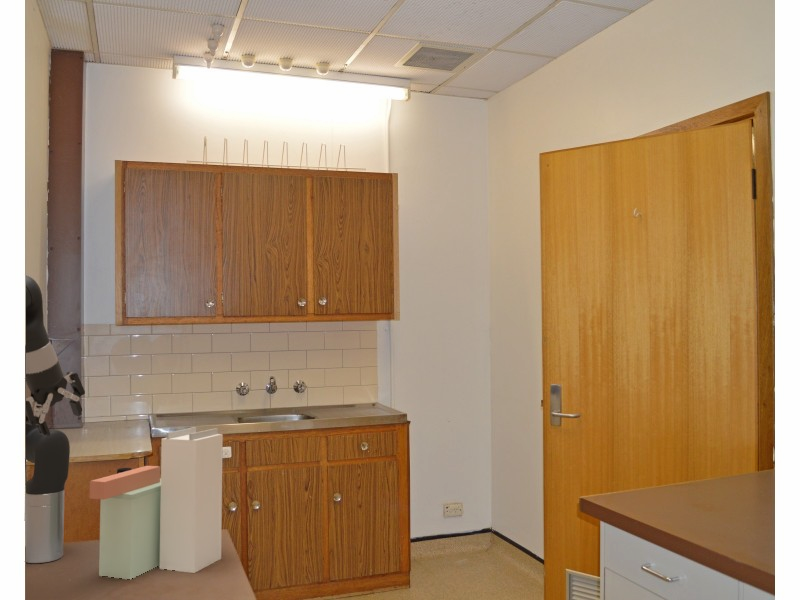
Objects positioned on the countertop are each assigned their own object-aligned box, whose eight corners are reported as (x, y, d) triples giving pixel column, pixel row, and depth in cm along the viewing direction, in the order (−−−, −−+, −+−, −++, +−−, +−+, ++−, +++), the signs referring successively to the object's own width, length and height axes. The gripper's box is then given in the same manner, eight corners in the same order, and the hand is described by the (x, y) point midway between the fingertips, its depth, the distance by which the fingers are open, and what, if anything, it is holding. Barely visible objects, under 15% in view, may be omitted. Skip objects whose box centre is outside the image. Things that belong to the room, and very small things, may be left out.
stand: (159, 569, 180) (161, 432, 182) (187, 555, 191) (189, 426, 193) (194, 573, 177) (196, 434, 179) (221, 558, 188) (222, 428, 190)
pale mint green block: (97, 576, 174) (98, 491, 175) (149, 553, 193) (150, 477, 194) (130, 580, 172) (132, 494, 172) (180, 556, 190) (181, 479, 191)
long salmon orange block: (89, 498, 168) (89, 480, 169) (146, 481, 188) (147, 465, 189) (103, 499, 167) (104, 482, 167) (159, 482, 187) (160, 466, 187)
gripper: (56, 346, 169) (78, 406, 175) (0, 376, 158) (25, 438, 164) (77, 351, 165) (98, 411, 171) (20, 382, 154) (45, 445, 160)
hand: (62, 424), depth 168 cm, fingers open, 8 cm apart
